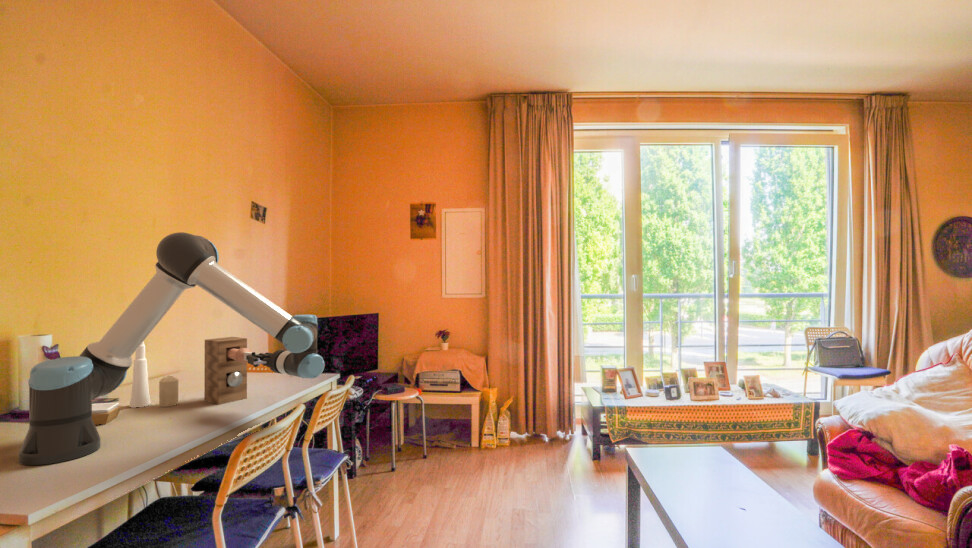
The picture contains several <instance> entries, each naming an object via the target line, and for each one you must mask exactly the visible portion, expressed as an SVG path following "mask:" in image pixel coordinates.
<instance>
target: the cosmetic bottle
mask: <svg viewBox="0 0 972 548" xmlns="http://www.w3.org/2000/svg"><path fill="white" fill-rule="evenodd" d="M132 367H133V368H132V383H131V384H132V386H131V395H130V401H129V406H128V407H129V408H130V407H131V408H132V409H134V408H135V409H137V408H136V407H139V408H144V406H145V407H148V405H149V406H151V404H152V402H151V397H150V389H149V388H150V387H149V374H148V373H149V372H148V369H149V368H148V360H147V358H146V345H145V341H143V342H142V343H141V345H140V346H139V347H138V348H137V350H136V351H135V358H134V360H133V366H132Z"/></svg>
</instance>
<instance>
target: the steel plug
mask: <svg viewBox="0 0 972 548" xmlns="http://www.w3.org/2000/svg"><path fill="white" fill-rule="evenodd" d="M242 381H243V376H242V374H241V373H239V372H232V373H226V383H227V384H228V385H229V386H232V387H237V386H239V385H240V384H241V383H242Z"/></svg>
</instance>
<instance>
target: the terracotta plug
mask: <svg viewBox="0 0 972 548" xmlns="http://www.w3.org/2000/svg"><path fill="white" fill-rule="evenodd" d="M244 352H252V351H251V349H249V348H248V347H247V348H241V349H234V348H226V358H228V359H234V360H237V361H238V362H240V363H247V364H248V361H247V360H244Z"/></svg>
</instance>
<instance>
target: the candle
mask: <svg viewBox="0 0 972 548" xmlns="http://www.w3.org/2000/svg"><path fill="white" fill-rule="evenodd" d="M158 383H159V384H158V385H159V387H158V390H159V391H158V398H159V399H158V401H159V402H158V403H159V404H158V405H159V407H160V408H165V407H167V408H168V407H174V406H177V405H178V404H179V379H178V377H175V376H174V375H173V376H172V375H166V376H163V378H161V379H160V380H159V382H158ZM176 404H177V405H176ZM173 405H174V406H173Z"/></svg>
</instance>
